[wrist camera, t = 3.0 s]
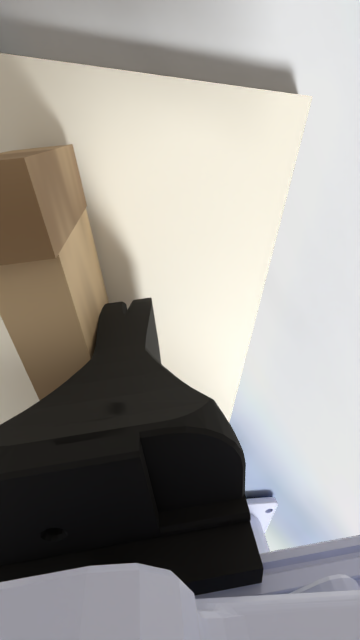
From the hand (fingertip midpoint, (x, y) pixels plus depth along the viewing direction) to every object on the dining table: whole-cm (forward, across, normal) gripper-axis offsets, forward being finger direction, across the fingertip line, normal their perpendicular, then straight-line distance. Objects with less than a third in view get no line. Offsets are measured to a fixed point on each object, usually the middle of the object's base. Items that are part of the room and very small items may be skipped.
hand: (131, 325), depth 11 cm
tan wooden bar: (+1, +1, 0) cm, 2 cm away
